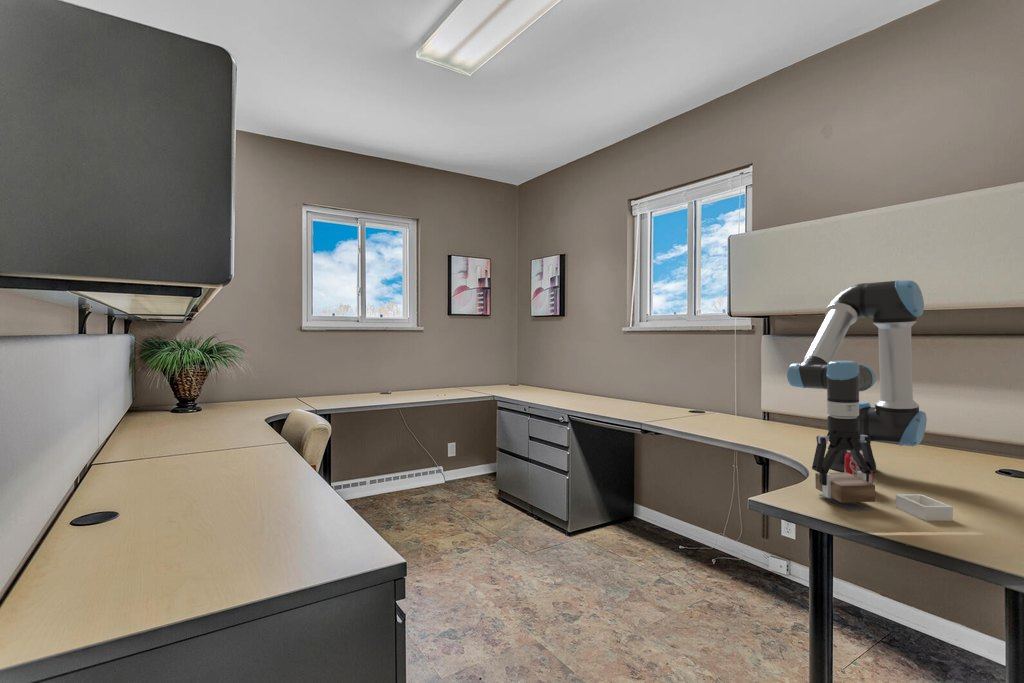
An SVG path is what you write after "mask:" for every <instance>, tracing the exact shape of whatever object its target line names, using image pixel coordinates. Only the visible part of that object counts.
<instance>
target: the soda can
mask: <svg viewBox="0 0 1024 683" xmlns="http://www.w3.org/2000/svg"><path fill="white" fill-rule="evenodd" d="M860 453H861V455H862V457H863V459H864V456H863V452H862V450H860ZM864 461H865V460H864ZM857 471H861V470H860V469H859V467H858V465H857V463H856V461H855V460H854V458H853V456H852V454H851V452H850V451H849V450H847V453H846V455H845V472H847V473H849V474H851V475H854V476H856V477H857ZM873 474H874V472H873V471H872V473H871V474H869V483H871V484H874V483H873V481H874V480H873V479H874V476H873Z"/></svg>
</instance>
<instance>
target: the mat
mask: <svg viewBox="0 0 1024 683" xmlns="http://www.w3.org/2000/svg"><path fill="white" fill-rule="evenodd" d="M818 496H820V497H821V498H824V500H825V499H826V500H827V501H829V502H831V503H833V504H834V505H837V506H838V507H840V508H842V509H843V510H845V511H848V512H871V510H870V509H868V508H867V507H865V506H863V505H861V504H859V503H858V502H845V503H841V502H839V501H838V500H836V499H834V498H832V497H831V498H827V497H826V496H824V495H823V493H821V494H820V493H819V494H818Z"/></svg>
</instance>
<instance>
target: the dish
mask: <svg viewBox="0 0 1024 683" xmlns="http://www.w3.org/2000/svg"><path fill="white" fill-rule="evenodd" d="M895 508H896V509H899V510H900V511H903V512H905V513H908V514H909V515H912V516H914V517H916V518H918V519H920V520H923V521H924V522H925V521H927V522H928V521H929V522H930V521H932V522H935V521H937V522H939V521H941V522H942V521H945V522H947V521H949V522H950V521H954V514H953V513H954V507H953V506H952V505H949V504H947V503H944V502H942V501H939V500H938V499H937V500H936V499H935V498H932V497H929V496H927V495H924V494H923V493H922V494H919V493H918V494H914V493H912V494H911V493H909V494H908V493H907V494H905V493H903V494H895Z"/></svg>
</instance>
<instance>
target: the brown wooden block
mask: <svg viewBox="0 0 1024 683" xmlns="http://www.w3.org/2000/svg"><path fill="white" fill-rule="evenodd" d="M828 474H830V475H831V497H832V498H834V499H836V500H838V501H839V502H841V503H845V502H855V503H872V502H873V503H874V502H876V484H874V483H873V484H871V483H869V482H867V481H865V480H862V479H860V478H858V477H856V476H854V475H851V474H849V473H847V472H844V471H839V472H828ZM814 480H815V489H816V490H817V491H819V492H820V493H822V484H820V476H819V472H815V479H814Z"/></svg>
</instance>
